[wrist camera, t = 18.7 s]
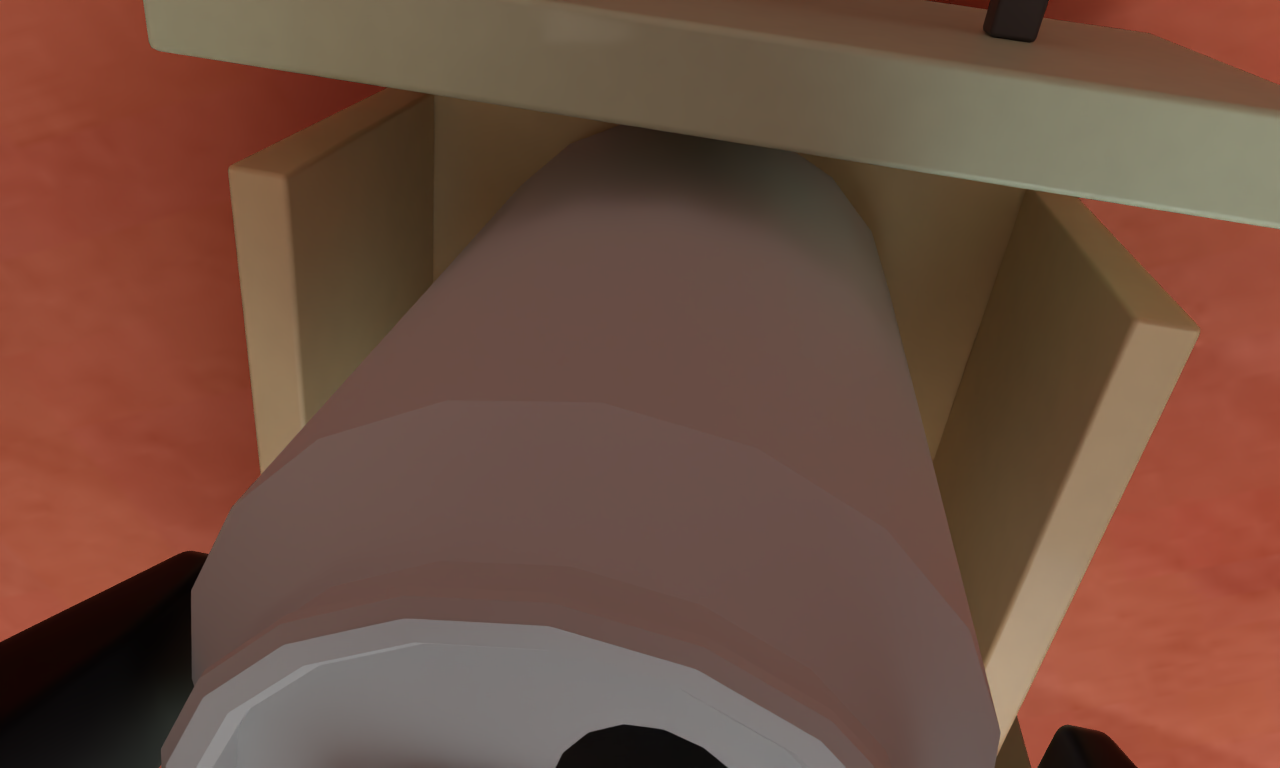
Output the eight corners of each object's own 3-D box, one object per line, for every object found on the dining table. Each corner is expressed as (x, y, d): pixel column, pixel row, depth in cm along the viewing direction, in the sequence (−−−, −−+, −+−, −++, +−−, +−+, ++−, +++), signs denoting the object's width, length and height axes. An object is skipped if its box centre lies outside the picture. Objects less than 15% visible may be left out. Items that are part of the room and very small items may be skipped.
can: (903, 446, 18) (1061, 1203, 8) (551, 484, 20) (289, 1145, 9) (861, 62, 15) (1041, 477, 4) (443, 149, 16) (-147, 594, 6)
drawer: (367, -431, 14) (41, -679, 8) (1288, -321, 13) (1727, -503, 7) (389, 553, 23) (251, 783, 17) (916, 655, 22) (962, 935, 16)
